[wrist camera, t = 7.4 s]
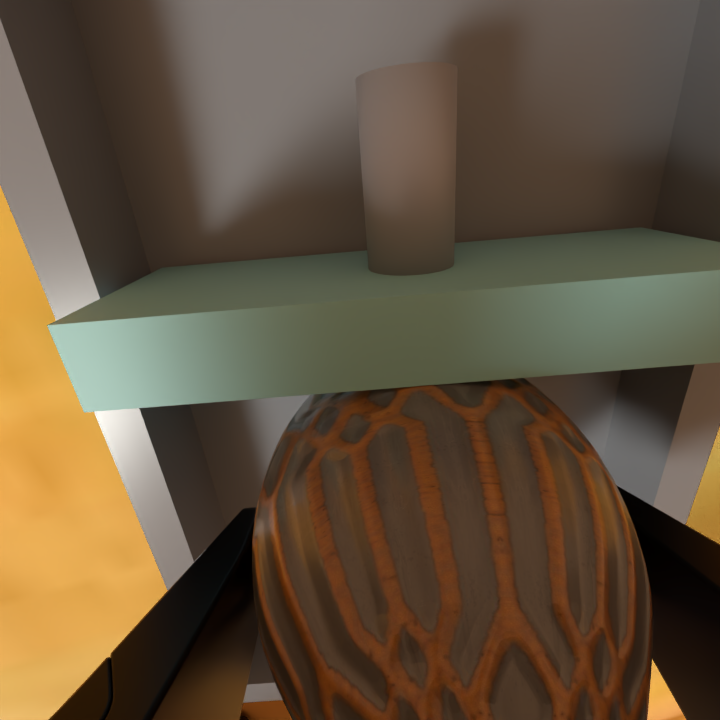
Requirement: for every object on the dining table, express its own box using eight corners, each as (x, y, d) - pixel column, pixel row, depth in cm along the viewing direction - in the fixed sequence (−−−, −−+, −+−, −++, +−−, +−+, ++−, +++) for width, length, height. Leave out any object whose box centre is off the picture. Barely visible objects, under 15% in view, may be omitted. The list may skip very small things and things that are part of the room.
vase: (554, 312, 10) (1256, 792, 2) (504, 517, 13) (739, 1046, 5) (279, 304, 10) (3, 804, 2) (289, 514, 13) (187, 1063, 5)
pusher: (628, 290, 10) (785, 356, 6) (179, 327, 10) (84, 412, 7) (672, 72, 8) (929, -10, 5) (120, 120, 8) (-57, 82, 5)
